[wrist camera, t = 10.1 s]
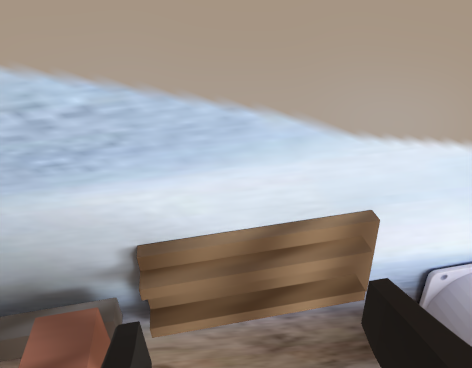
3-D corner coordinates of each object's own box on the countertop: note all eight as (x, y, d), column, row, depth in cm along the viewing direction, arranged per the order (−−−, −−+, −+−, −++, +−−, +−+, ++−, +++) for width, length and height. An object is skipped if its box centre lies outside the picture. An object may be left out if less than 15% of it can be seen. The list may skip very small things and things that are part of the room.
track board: (371, 210, 23) (392, 235, 21) (360, 280, 26) (376, 307, 24) (137, 245, 21) (135, 276, 19) (155, 315, 24) (155, 348, 22)
